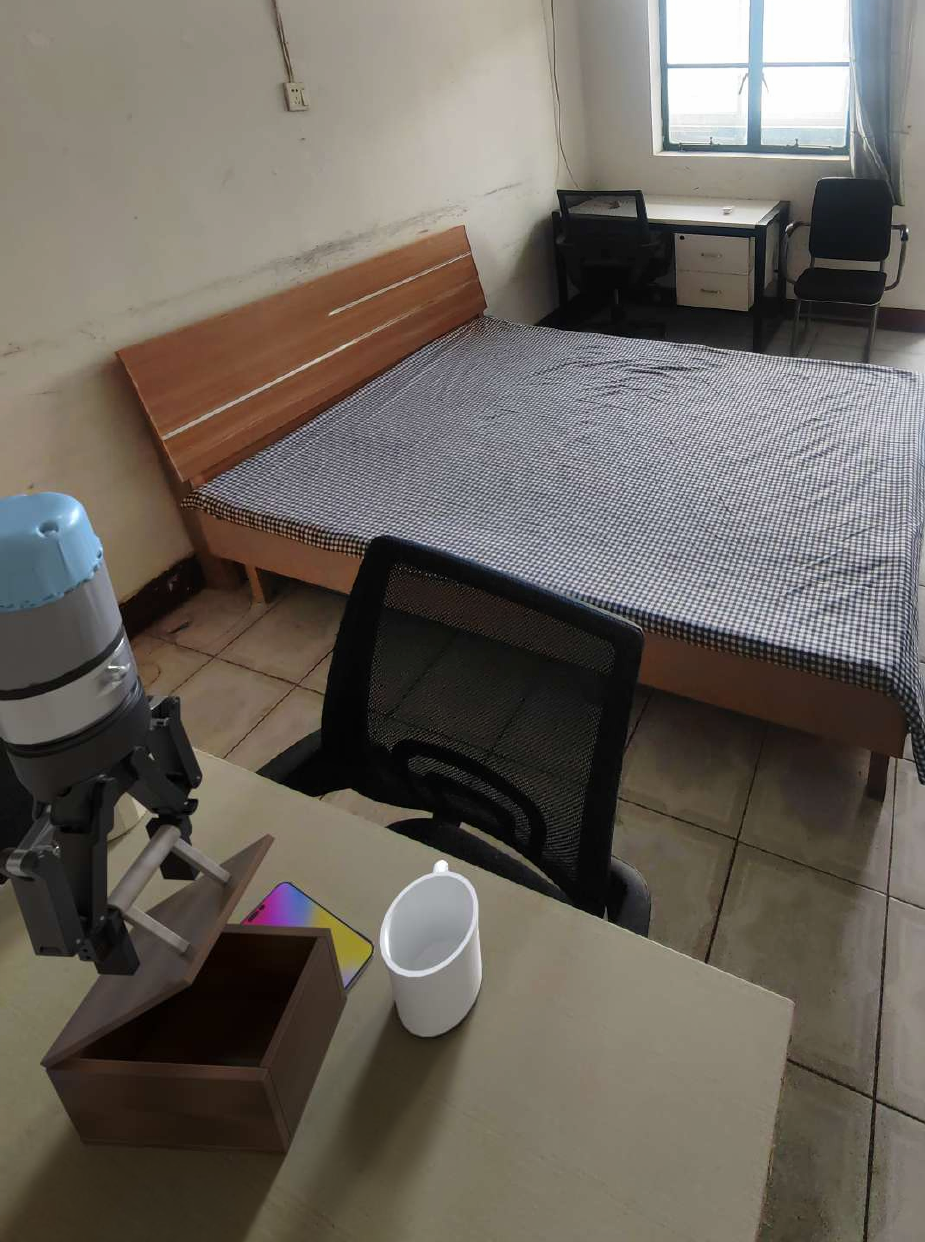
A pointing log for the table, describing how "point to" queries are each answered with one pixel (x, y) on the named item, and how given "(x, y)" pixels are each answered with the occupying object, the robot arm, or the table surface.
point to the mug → (433, 952)
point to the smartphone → (304, 911)
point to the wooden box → (215, 1051)
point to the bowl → (125, 815)
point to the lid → (161, 936)
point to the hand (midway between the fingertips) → (152, 919)
